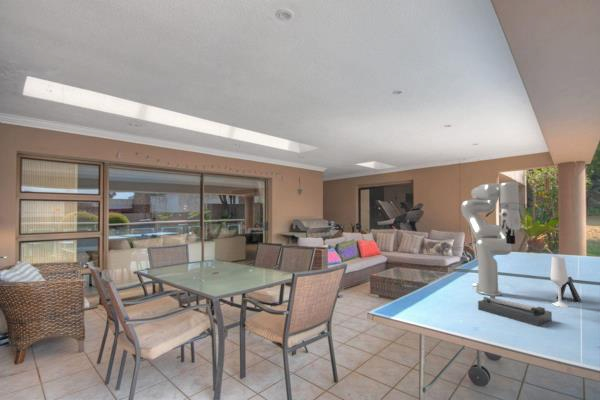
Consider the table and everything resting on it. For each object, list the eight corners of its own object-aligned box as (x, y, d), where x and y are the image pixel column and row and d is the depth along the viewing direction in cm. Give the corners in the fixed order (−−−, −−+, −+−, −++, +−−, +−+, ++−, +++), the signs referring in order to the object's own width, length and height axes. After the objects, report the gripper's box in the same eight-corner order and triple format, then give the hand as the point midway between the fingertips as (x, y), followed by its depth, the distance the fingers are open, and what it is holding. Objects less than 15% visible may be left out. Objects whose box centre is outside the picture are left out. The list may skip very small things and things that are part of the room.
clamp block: (478, 309, 139) (477, 297, 140) (492, 305, 145) (491, 294, 145) (538, 326, 118) (537, 312, 119) (551, 321, 124) (551, 307, 125)
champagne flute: (572, 307, 142) (570, 258, 143) (556, 306, 144) (554, 257, 145) (563, 303, 149) (561, 256, 150) (548, 302, 150) (546, 255, 151)
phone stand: (581, 300, 154) (580, 277, 155) (579, 302, 150) (578, 279, 151) (558, 296, 161) (557, 274, 162) (556, 298, 157) (555, 276, 158)
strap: (487, 300, 140) (487, 298, 140) (491, 299, 142) (491, 297, 142) (531, 310, 124) (531, 308, 124) (535, 309, 126) (535, 306, 126)
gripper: (510, 206, 139) (511, 245, 138) (525, 206, 146) (527, 243, 145) (493, 206, 145) (494, 243, 145) (509, 207, 153) (510, 242, 152)
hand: (510, 243), depth 145 cm, fingers closed
